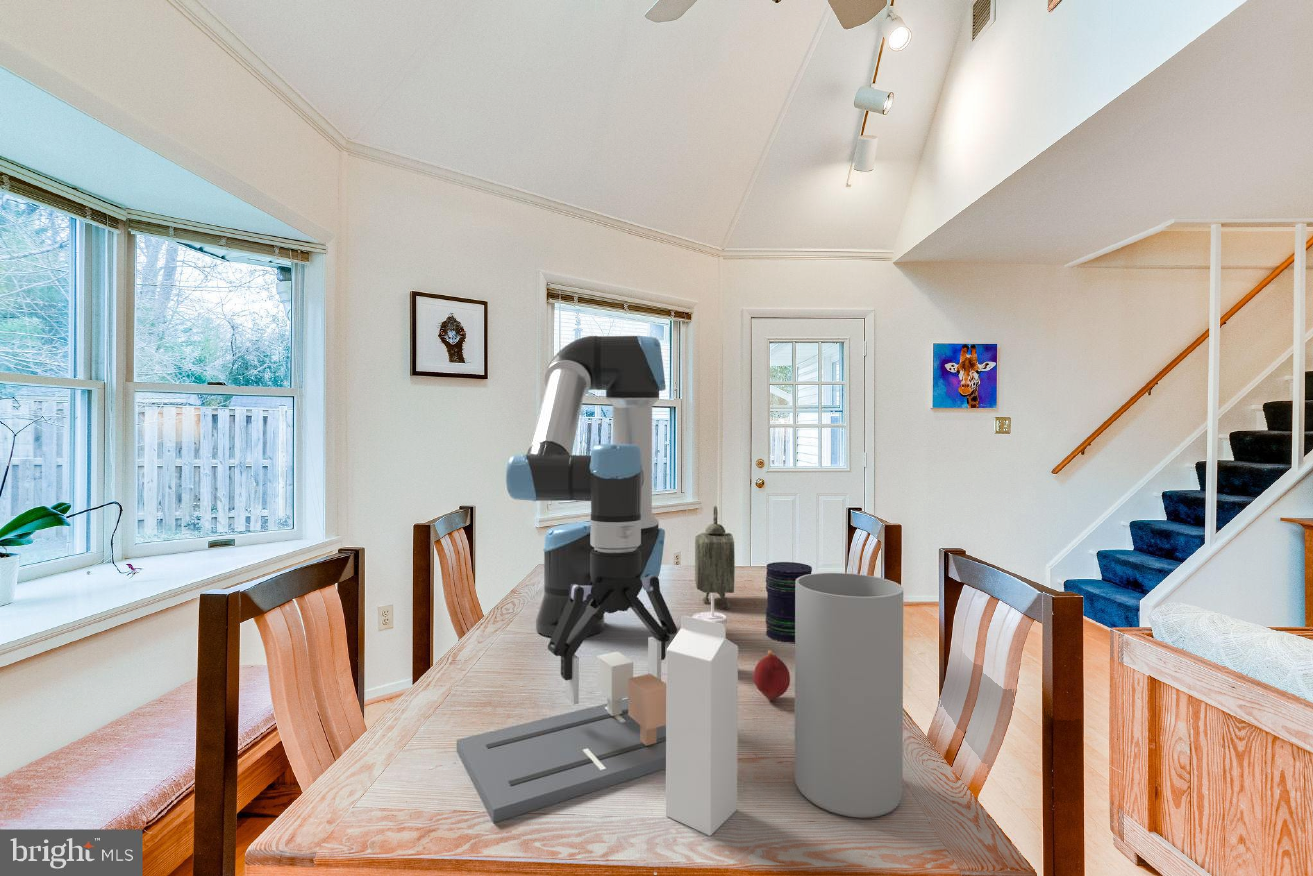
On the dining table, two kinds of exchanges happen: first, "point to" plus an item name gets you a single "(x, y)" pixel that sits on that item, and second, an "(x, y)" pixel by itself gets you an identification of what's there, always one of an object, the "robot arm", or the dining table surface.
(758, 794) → the dining table surface
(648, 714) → the fader
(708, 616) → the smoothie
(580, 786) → the console
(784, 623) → the storage jar
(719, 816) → the milk
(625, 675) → the block
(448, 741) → the dining table surface
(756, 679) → the onion
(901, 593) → the cylinder vase
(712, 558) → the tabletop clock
